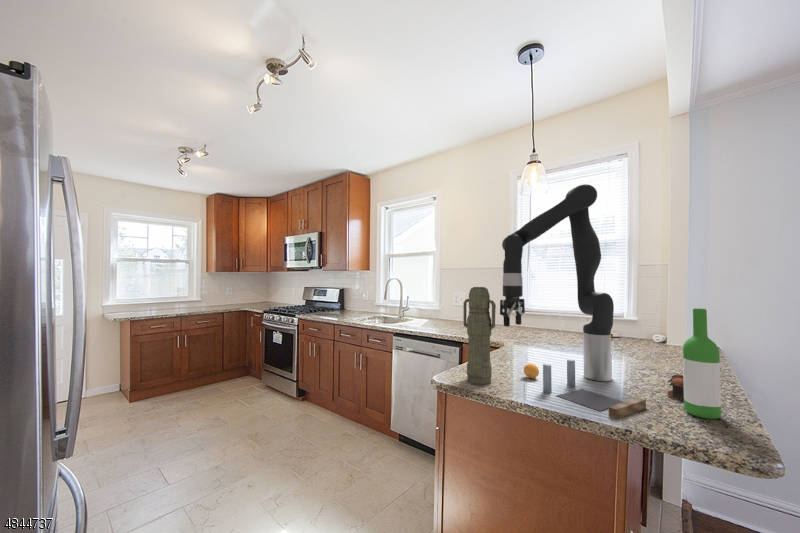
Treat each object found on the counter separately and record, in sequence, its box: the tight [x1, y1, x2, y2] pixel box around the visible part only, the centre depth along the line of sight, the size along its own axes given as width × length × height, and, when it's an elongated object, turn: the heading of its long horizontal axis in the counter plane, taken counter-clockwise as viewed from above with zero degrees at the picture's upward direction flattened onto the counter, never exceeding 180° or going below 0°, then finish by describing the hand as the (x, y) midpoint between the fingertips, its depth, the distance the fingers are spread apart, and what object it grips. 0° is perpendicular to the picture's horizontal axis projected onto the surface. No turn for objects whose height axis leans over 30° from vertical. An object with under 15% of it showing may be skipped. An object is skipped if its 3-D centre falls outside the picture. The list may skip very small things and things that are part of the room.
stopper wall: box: [608, 397, 647, 420], centre depth 94 cm, size 16×2×2 cm, turn 119°
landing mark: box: [556, 388, 624, 412], centre depth 104 cm, size 14×14×1 cm
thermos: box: [463, 286, 497, 387], centre depth 121 cm, size 9×12×35 cm
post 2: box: [566, 359, 576, 388], centre depth 117 cm, size 3×3×9 cm
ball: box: [523, 363, 540, 379], centre depth 126 cm, size 6×6×6 cm
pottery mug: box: [667, 374, 684, 402], centre depth 105 cm, size 12×10×8 cm
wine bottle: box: [682, 308, 722, 420], centre depth 93 cm, size 8×8×30 cm
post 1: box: [542, 363, 552, 394], centre depth 111 cm, size 3×3×9 cm
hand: (512, 325), depth 130 cm, fingers open, 8 cm apart
